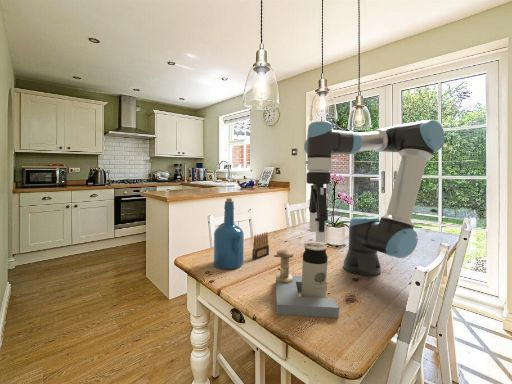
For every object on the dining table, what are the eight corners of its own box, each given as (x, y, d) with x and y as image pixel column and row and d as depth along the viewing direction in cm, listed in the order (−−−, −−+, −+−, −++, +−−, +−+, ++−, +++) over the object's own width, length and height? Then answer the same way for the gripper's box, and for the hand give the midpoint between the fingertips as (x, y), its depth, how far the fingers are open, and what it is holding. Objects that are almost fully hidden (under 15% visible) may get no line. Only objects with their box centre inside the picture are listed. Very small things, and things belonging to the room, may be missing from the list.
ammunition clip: (266, 254, 131) (266, 231, 130) (268, 255, 130) (269, 231, 129) (252, 259, 123) (252, 234, 122) (254, 260, 122) (255, 235, 121)
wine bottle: (248, 267, 113) (249, 199, 110) (220, 272, 106) (221, 200, 104) (234, 257, 124) (235, 196, 122) (208, 262, 118) (209, 197, 115)
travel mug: (299, 292, 90) (300, 242, 89) (321, 292, 91) (323, 242, 89) (304, 304, 82) (306, 249, 81) (329, 304, 83) (331, 249, 81)
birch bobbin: (291, 276, 96) (292, 250, 96) (293, 283, 90) (294, 255, 90) (275, 275, 97) (276, 249, 96) (276, 282, 91) (276, 254, 90)
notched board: (323, 284, 97) (323, 276, 97) (338, 317, 75) (338, 307, 75) (275, 282, 98) (275, 274, 98) (276, 314, 76) (276, 304, 76)
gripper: (302, 171, 95) (300, 227, 97) (312, 171, 71) (310, 247, 73) (322, 171, 95) (321, 227, 97) (340, 172, 70) (337, 248, 72)
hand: (316, 236), depth 85 cm, fingers open, 13 cm apart
